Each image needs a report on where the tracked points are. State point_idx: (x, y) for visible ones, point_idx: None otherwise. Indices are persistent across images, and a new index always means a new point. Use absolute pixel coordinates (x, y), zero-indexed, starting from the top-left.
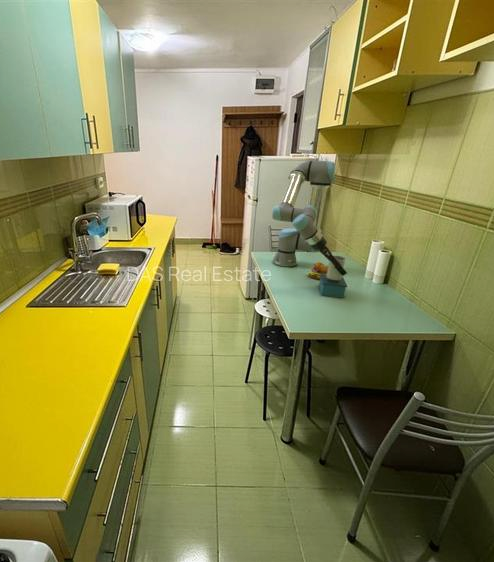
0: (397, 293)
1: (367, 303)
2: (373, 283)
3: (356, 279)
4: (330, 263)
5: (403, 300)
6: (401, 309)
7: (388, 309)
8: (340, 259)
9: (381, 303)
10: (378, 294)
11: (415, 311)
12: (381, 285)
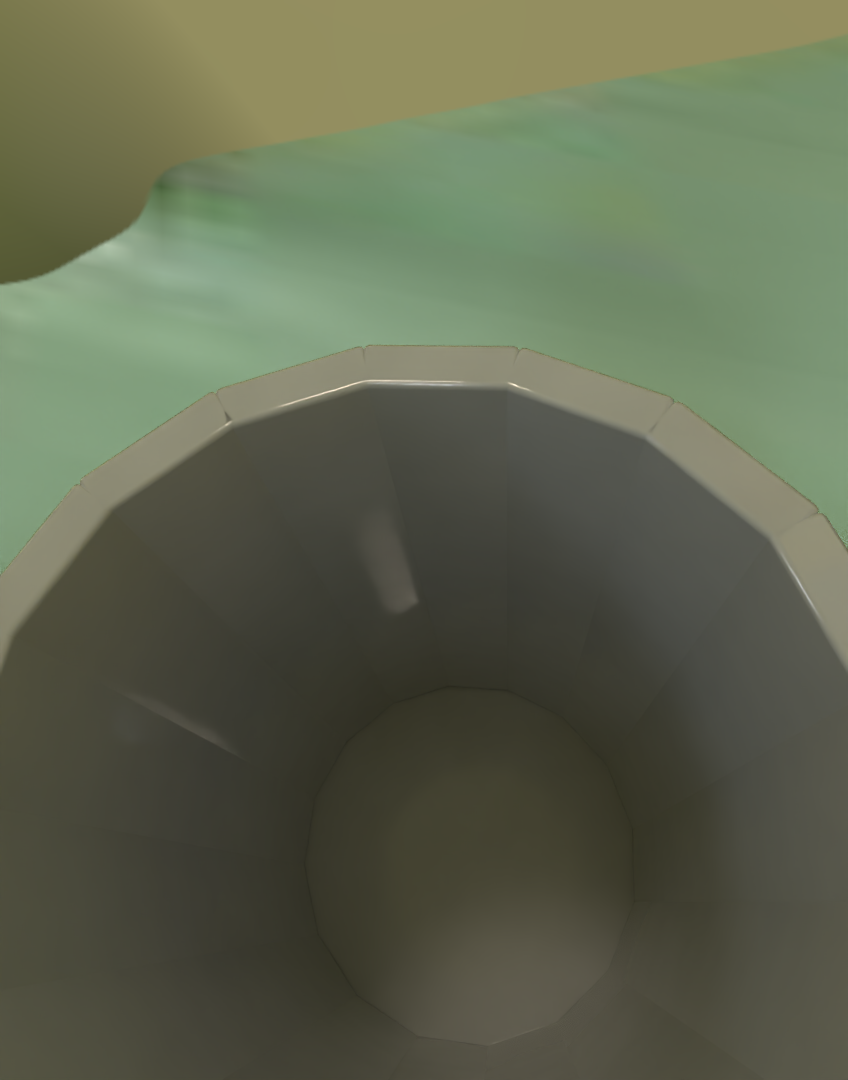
0: (375, 132)
1: (750, 438)
2: (135, 257)
3: (12, 391)
4: None
5: (536, 125)
6: (771, 180)
7: (830, 277)
8: (196, 570)
9: (687, 303)
10: (437, 277)
11: (766, 100)
12: (188, 204)
